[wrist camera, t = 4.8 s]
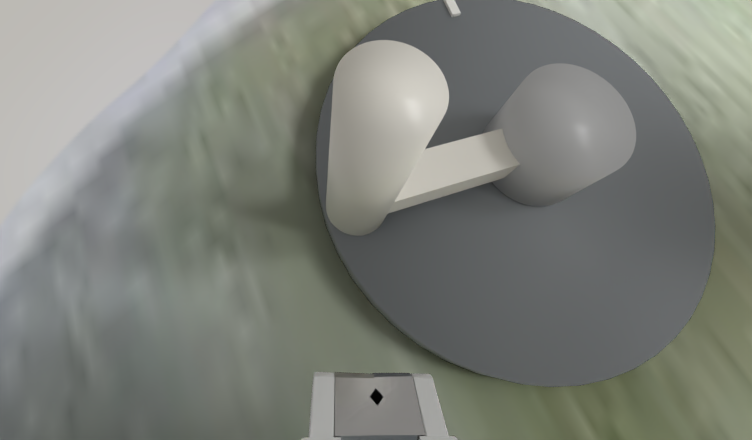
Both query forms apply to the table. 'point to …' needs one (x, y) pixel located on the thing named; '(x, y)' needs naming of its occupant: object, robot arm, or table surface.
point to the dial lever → (466, 156)
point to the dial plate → (536, 217)
